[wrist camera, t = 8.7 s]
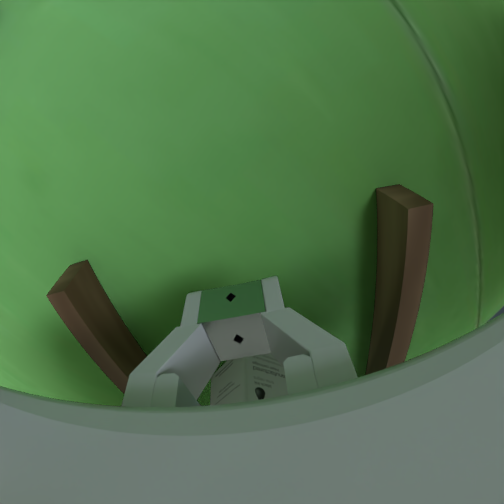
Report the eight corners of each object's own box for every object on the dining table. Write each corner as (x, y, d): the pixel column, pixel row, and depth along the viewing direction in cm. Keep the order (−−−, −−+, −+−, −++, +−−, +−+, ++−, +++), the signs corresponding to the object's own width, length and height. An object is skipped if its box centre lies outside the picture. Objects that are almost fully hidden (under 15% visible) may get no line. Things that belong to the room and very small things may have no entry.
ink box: (332, 371, 20) (373, 502, 9) (293, 400, 21) (316, 518, 11) (242, 340, 17) (258, 524, 7) (207, 377, 19) (206, 526, 8)
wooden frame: (401, 183, 12) (500, 247, 6) (378, 382, 22) (403, 443, 15) (40, 274, 13) (-16, 352, 7) (160, 422, 23) (154, 482, 16)
